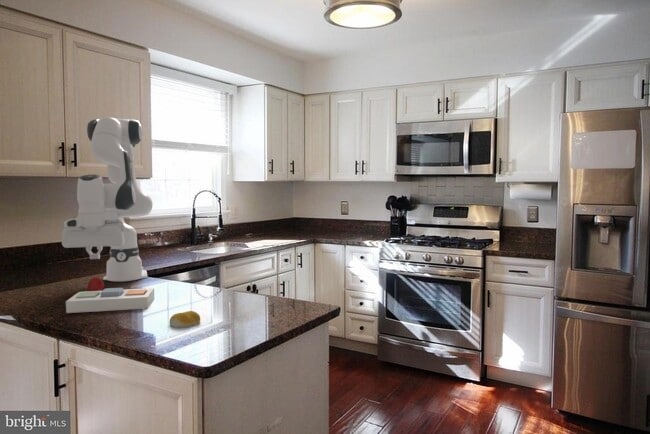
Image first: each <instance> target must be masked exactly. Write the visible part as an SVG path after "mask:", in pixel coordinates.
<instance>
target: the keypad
mask: <svg viewBox="0 0 650 434" xmlns="http://www.w3.org/2000/svg"><path fill="white" fill-rule="evenodd" d="M144 289H146V290H147V292H146V293H145V295H132V296H125V294H126V293H127V292H128V291H129V290H144ZM85 292H100V294H99V295H98V296H97V297H94V298H76V296H78V295H79V294H80V293H85ZM101 292H102V291H89V290H85V291H79V292H77V293H75V294H74V295H72V296H71V297H70V298H68V299H67V300H65V309H66V310H65V313H66V314H72V313H74V314H75V313H89V312H106V311H107V312H108V311H109V312H110V311H125V310H127V311H128V310H141V309H142V310H143V309H149V308H150V306H151V305H152V302H153V301H154V300H155V288H154V287H148V288H147V287H146V288H131V289H130V288H125V289H123V294H122V295H121V296H113V297H101Z"/></svg>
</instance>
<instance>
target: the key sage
mask: <svg viewBox="0 0 650 434" xmlns="http://www.w3.org/2000/svg"><path fill="white" fill-rule="evenodd" d="M84 292H85V291H84ZM99 294H100V292H85V293H80V294H79V295H78V296H76V298H94V297H97V296H98V295H99Z"/></svg>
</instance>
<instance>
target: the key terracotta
mask: <svg viewBox="0 0 650 434" xmlns="http://www.w3.org/2000/svg"><path fill="white" fill-rule="evenodd" d="M143 289H144V290H129V291H128V292H127V293H126V294H125V296H132V295H145V293H146V292H147V290H146V289H145V288H143Z"/></svg>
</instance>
